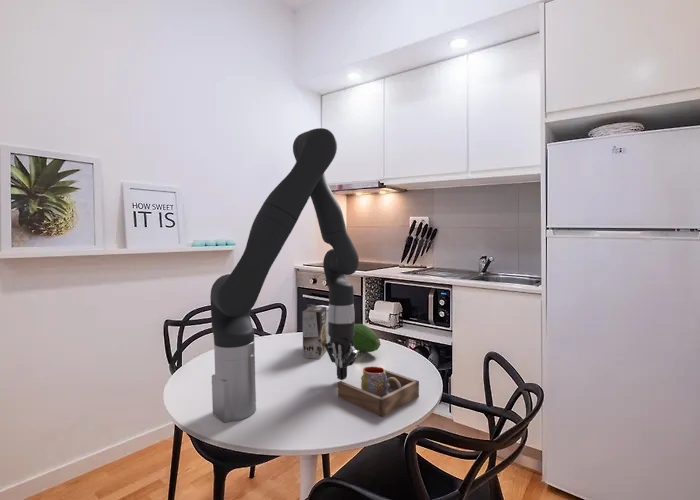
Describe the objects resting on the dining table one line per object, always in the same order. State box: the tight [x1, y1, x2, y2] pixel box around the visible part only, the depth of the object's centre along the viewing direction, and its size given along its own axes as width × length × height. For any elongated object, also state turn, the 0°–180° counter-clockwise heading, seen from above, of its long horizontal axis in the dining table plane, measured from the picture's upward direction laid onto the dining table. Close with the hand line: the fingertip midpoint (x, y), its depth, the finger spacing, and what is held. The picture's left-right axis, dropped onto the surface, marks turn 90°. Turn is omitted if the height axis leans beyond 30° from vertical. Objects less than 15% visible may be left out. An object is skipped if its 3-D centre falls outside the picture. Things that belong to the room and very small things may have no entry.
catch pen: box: [337, 369, 420, 417], centre depth 99 cm, size 15×15×4 cm
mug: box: [360, 365, 401, 397], centre depth 99 cm, size 12×7×7 cm, turn 47°
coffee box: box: [302, 306, 327, 360], centre depth 132 cm, size 9×6×16 cm
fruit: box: [353, 323, 381, 354], centre depth 133 cm, size 15×10×10 cm, turn 41°
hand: (341, 378), depth 109 cm, fingers closed
